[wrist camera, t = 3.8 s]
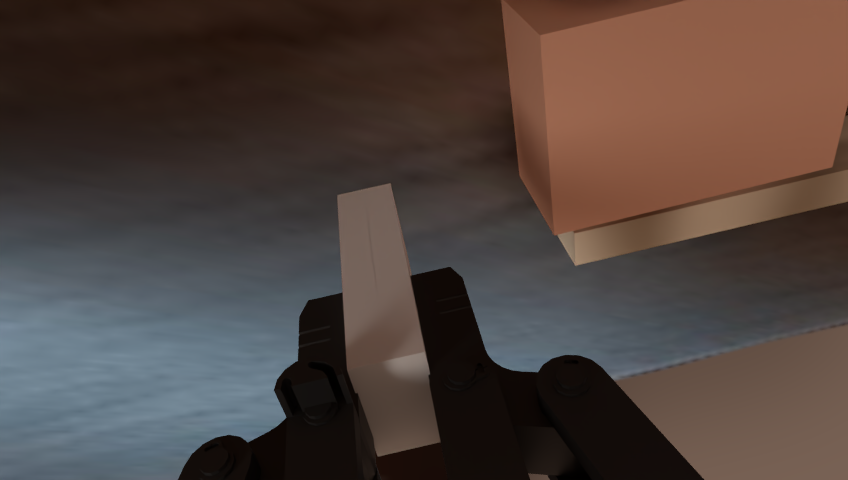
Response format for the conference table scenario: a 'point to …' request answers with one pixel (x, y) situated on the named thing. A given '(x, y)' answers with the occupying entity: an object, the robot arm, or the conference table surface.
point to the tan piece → (714, 212)
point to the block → (670, 99)
